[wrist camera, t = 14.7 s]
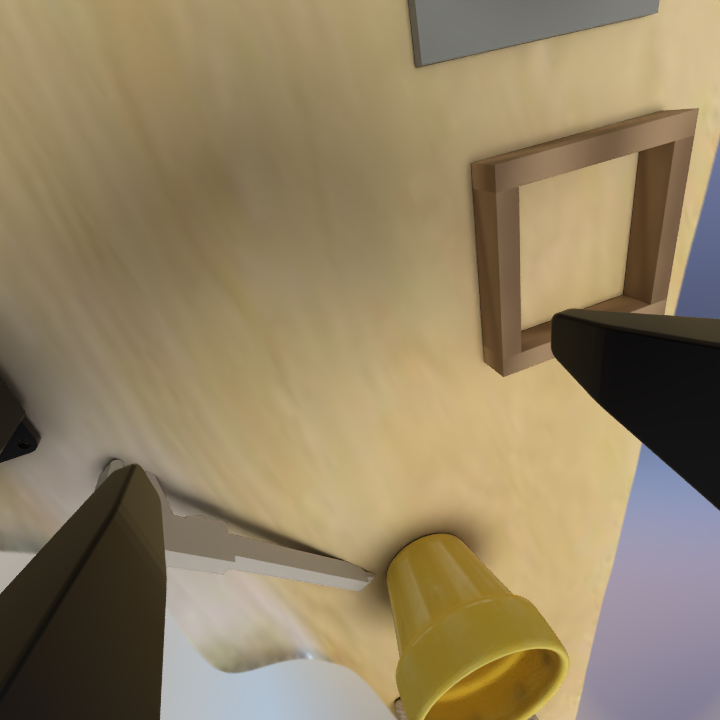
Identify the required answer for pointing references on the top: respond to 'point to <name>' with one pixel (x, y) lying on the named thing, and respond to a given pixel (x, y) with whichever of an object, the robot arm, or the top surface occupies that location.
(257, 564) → the caliper
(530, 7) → the mat
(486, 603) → the plant pot
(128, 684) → the robot arm
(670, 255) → the brown wooden square frame
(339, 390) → the top surface
